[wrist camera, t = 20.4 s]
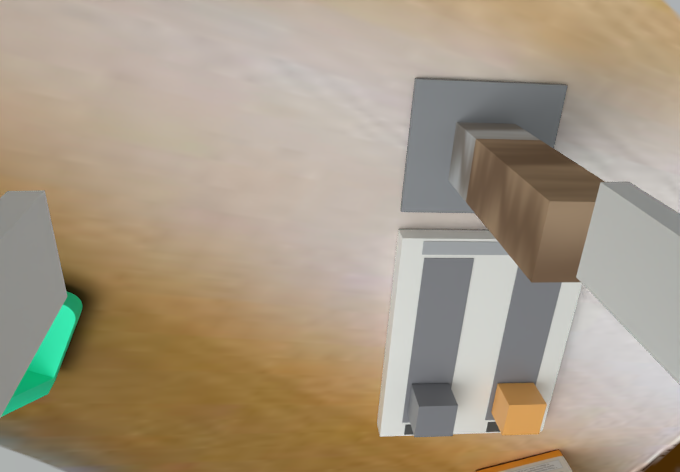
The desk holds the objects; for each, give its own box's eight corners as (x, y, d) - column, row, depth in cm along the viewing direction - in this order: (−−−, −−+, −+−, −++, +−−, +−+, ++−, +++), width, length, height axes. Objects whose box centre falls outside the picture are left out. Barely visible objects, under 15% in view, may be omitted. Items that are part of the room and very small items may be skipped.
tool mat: (415, 78, 36) (416, 79, 35) (564, 84, 37) (567, 85, 37) (400, 209, 40) (401, 212, 39) (536, 211, 41) (539, 214, 40)
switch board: (398, 229, 40) (402, 238, 39) (584, 231, 42) (595, 240, 40) (376, 423, 48) (380, 437, 46) (535, 418, 49) (542, 432, 48)
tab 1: (411, 384, 44) (418, 406, 42) (448, 383, 44) (458, 405, 42) (407, 414, 45) (414, 437, 43) (443, 413, 46) (452, 435, 44)
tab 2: (497, 383, 45) (509, 405, 43) (533, 382, 45) (546, 404, 43) (491, 412, 46) (502, 435, 44) (526, 411, 47) (538, 434, 44)
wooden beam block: (456, 122, 37) (549, 201, 24) (515, 123, 37) (636, 202, 25) (448, 180, 39) (531, 282, 26) (504, 181, 39) (613, 282, 26)
